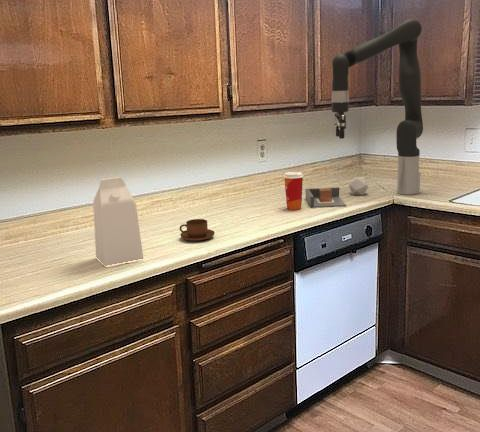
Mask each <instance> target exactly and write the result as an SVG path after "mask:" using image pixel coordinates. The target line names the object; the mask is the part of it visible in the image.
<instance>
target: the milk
mask: <svg viewBox="0 0 480 432" xmlns="http://www.w3.org/2000/svg"><path fill="white" fill-rule="evenodd" d="M92 203H93V204H92V206H93V209H92V210H93V223H94V239H95V240H94V244H95V258H96V257H97V258H98V259H99V260H100V261H101V262H102V263H103V264H104V265H105V266H107V265H112V264H117V263H123V262H128V261H133V260H138V259H144V254H143V245H142V239H141V232H140V225H139V217H138V210H137V204H136V201H135V199H134V196H133V195H132V194H131V191H130V190H129V187H127V185H126V183H125V181H124V179H123V178H122V177H121V176H117V177H109V178H102V179H101V180H100V182H99V187H98V189H97V192H96V194H95V196H94V198H93V202H92Z"/></svg>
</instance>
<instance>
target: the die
mask: <svg viewBox="0 0 480 432" xmlns="http://www.w3.org/2000/svg"><path fill="white" fill-rule="evenodd" d="M366 179H367V178H366V177H365V176H364V177H360V176H359V177H358V176H357V177H356V176H354V177H353V178H352V179H351V180H350V182H349V184H348V187H349V190H350V192H351V194H352V195H354V196H364V195H365V193H366V192H367V191H368V189H369V188H370V187H369V185H368V182H367V180H366Z"/></svg>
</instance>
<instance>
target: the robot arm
mask: <svg viewBox="0 0 480 432" xmlns="http://www.w3.org/2000/svg"><path fill="white" fill-rule="evenodd" d="M422 28H423V27H422V25H421V22H420V21H418V20H417V19H415V18H408V19H405V20H403V22H401V23H400V24H399V25H397V26H396V27H395V28H393V29H391V30H390V31H387V32H386V33H383V34H381V35H380V36H377V37H375V38H373V39H370V40H367V41H365V42H363V43H361V44H359V45H357V46H354V47H353V48H352V49H350V50H348V51H345V52H342V53H341V54H337V55H336V56H334V58H333V59H332V61H331V65H332V80H331V81H332V82H331V86H332V87H331V88H332V89H331V90H332V91H331V113H334V127H335V137H338V138H339V139H345V130H346V129H347V127H346V126H347V119H346V117H347V116H346V115H345V113H348V112H349V110H350V109H349V108H350V107H349V105H350V97H349V69H350V68H351V67H353V66H354V65H357V64H360V63H363V62H365V61H367V60H370V59H371V58H373V57H375V56H377V55H379V54H381V53H382V52H384V51H386V50H388V49H390V48H392V47H395V46H397V45H398V51H399V61H398V62H399V65H398V89H399V90H398V91H399V94H400V97H401V99H402V102H403V106H404V120H402V121H400V122H399V123H398V125H397V127H396V135H395V136H396V150H397V176H396V177H397V183H396V185H397V186H396V187H397V188H396V193H397V194H399V195H407V196H408V195H409V196H410V195H411V196H412V195H417V194H418V195H420V190H421V172H420V153H421V152H420V149H419V147H418V146H417V140H418V139H419V138H420V137H421V136H422V134H423V132H424V123H423V115H422V76H421V75H422V73H421V67H420V63H419V62H420V61H419V58H418V38H419V37H420V35H421V33H422Z"/></svg>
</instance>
